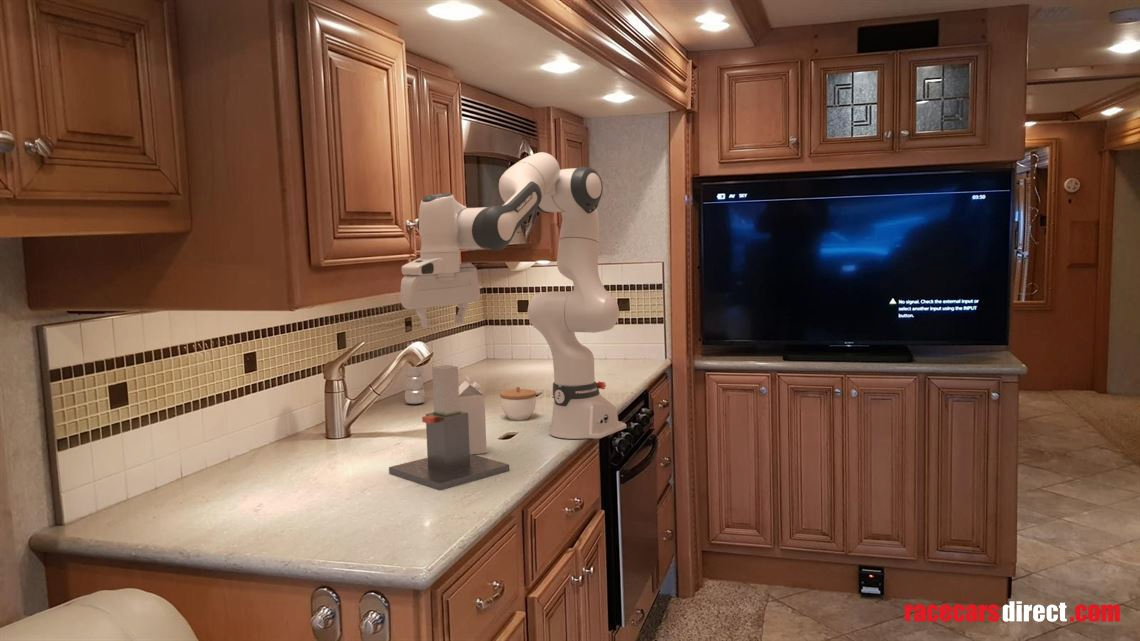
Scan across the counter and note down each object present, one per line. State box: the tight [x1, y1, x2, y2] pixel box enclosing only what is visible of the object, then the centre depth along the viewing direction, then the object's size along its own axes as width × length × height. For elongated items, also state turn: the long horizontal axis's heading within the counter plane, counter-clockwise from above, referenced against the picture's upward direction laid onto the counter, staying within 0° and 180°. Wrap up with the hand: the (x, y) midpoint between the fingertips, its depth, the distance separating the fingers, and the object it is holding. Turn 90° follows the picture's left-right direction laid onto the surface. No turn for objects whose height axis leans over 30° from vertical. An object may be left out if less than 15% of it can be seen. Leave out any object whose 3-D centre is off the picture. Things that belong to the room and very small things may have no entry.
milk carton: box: [459, 375, 488, 455], centre depth 222 cm, size 7×7×19 cm
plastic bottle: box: [404, 342, 426, 405], centre depth 284 cm, size 6×7×20 cm
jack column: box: [431, 364, 460, 417], centre depth 203 cm, size 4×4×18 cm
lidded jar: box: [499, 386, 537, 421], centre depth 261 cm, size 11×11×9 cm
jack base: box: [388, 411, 510, 491], centre depth 204 cm, size 20×20×14 cm
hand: (443, 325), depth 201 cm, fingers open, 8 cm apart
